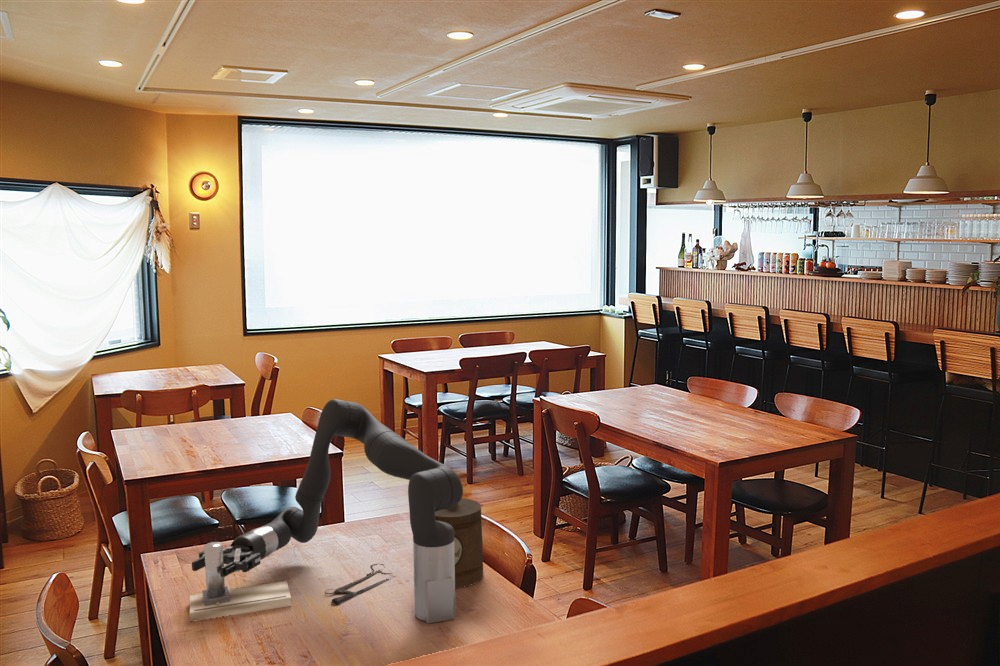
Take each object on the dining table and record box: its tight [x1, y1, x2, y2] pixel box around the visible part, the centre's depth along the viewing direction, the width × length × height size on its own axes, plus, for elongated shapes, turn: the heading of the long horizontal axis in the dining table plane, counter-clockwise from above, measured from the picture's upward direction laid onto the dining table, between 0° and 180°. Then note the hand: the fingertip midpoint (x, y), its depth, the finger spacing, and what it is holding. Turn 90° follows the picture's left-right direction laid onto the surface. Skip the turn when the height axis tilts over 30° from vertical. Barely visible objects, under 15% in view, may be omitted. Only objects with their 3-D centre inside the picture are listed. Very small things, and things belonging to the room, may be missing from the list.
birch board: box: [189, 580, 292, 622], centre depth 193 cm, size 10×22×2 cm, turn 110°
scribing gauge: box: [201, 541, 230, 606], centre depth 190 cm, size 7×6×13 cm
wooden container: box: [435, 497, 484, 589], centre depth 207 cm, size 15×15×22 cm
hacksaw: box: [324, 563, 393, 606], centre depth 204 cm, size 24×10×2 cm, turn 143°
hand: (207, 569), depth 190 cm, fingers open, 8 cm apart
